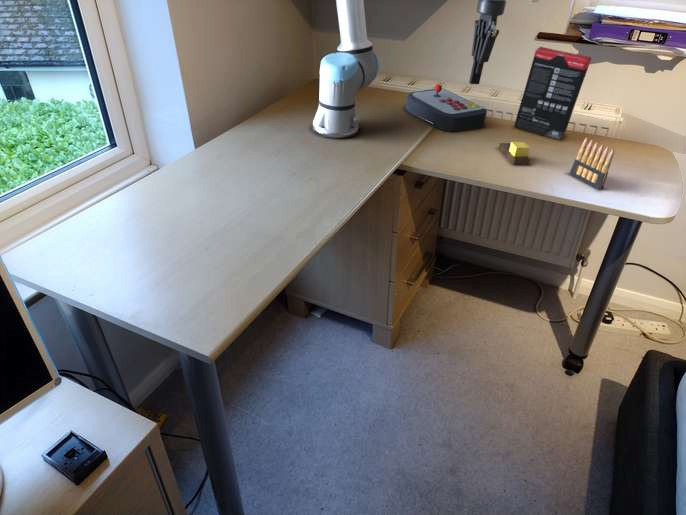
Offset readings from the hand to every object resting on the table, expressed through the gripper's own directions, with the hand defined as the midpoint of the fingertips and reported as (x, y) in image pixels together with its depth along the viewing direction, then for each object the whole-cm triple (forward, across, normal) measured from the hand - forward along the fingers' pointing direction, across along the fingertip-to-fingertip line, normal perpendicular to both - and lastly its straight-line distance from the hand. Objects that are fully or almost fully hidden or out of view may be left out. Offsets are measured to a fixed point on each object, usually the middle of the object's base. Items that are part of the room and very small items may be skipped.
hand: (474, 83), depth 155 cm
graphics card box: (+20, +11, -33) cm, 40 cm away
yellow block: (+18, -11, -14) cm, 26 cm away
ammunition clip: (+20, -26, -30) cm, 45 cm away
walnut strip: (+20, -9, -14) cm, 26 cm away
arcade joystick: (+20, +25, -1) cm, 32 cm away
